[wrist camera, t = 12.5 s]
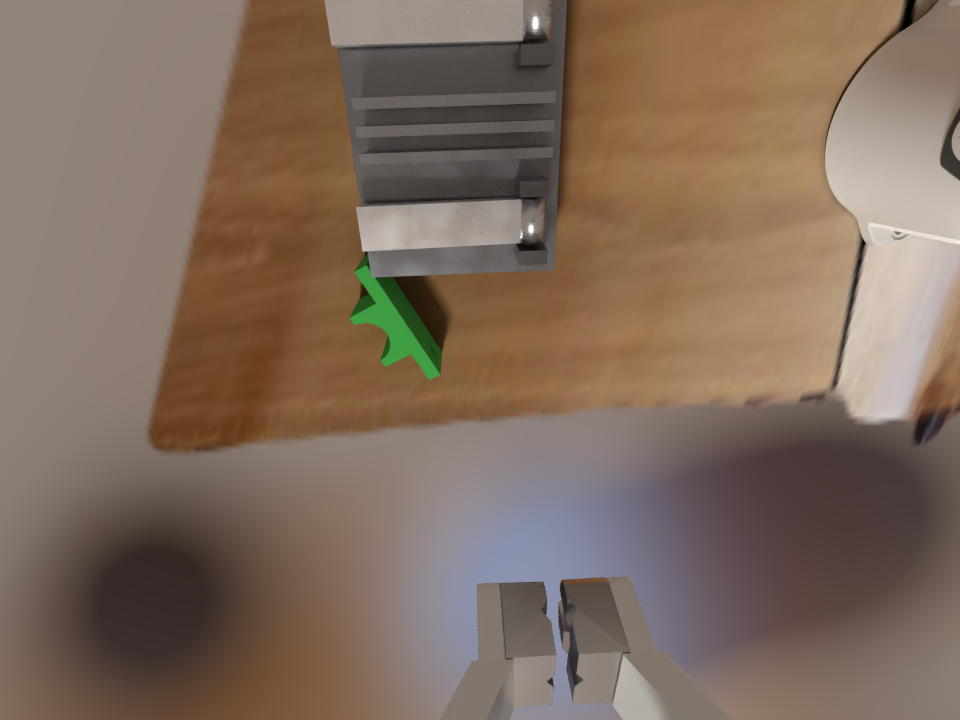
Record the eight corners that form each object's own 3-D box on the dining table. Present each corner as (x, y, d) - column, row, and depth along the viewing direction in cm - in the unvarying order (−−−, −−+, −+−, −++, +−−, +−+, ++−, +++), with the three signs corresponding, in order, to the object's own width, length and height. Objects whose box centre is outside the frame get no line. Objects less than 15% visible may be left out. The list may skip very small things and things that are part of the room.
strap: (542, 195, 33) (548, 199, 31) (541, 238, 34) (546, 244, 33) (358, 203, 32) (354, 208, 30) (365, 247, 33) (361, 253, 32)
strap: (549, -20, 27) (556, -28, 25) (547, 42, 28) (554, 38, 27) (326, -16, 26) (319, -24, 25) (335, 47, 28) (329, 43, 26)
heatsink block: (554, -49, 30) (583, -98, 23) (543, 252, 40) (561, 282, 33) (340, -43, 30) (304, -91, 23) (381, 259, 40) (364, 290, 33)
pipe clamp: (340, 269, 40) (326, 287, 36) (376, 249, 39) (366, 264, 35) (409, 368, 45) (403, 393, 41) (442, 351, 44) (440, 375, 40)
